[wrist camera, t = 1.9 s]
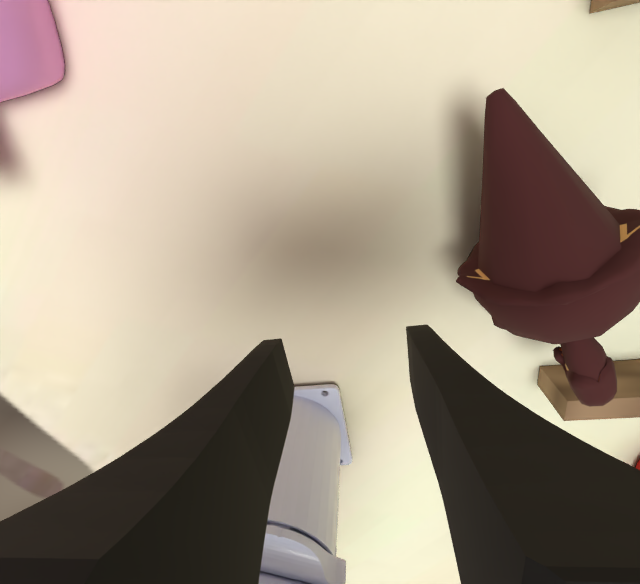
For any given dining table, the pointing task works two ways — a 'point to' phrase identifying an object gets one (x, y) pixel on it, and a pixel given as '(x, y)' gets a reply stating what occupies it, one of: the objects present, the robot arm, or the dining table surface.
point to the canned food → (638, 465)
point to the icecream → (550, 251)
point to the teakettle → (28, 48)
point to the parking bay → (632, 375)
